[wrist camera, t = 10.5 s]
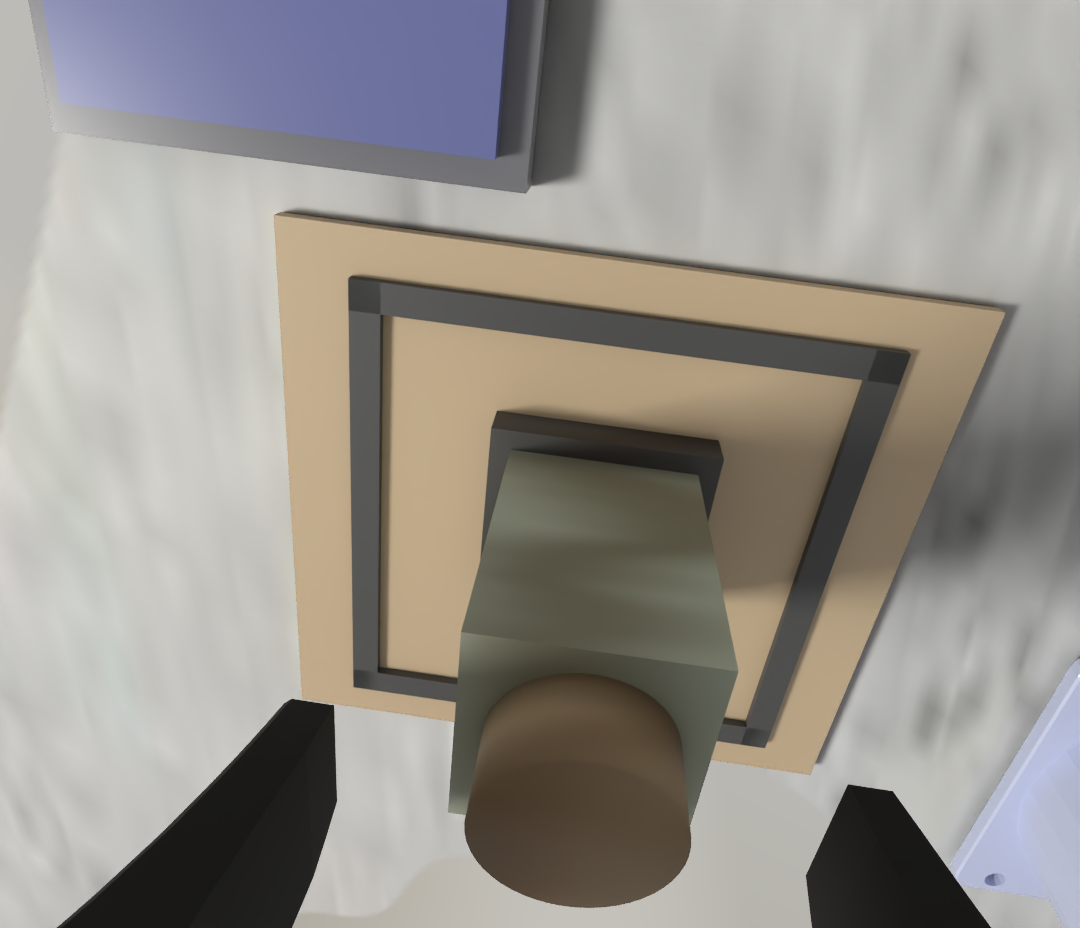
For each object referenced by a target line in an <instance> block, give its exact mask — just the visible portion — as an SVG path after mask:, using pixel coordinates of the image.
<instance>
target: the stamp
mask: <svg viewBox="0 0 1080 928" xmlns="http://www.w3.org/2000/svg"><path fill="white" fill-rule="evenodd" d="M723 462H724V457H723V454H722V450H721V446H720V443H719V440H712V439H705V438H697V437H690V436H682V435H675V434H667V433H660V432H652V431H645V430H637V429H630V428H622V427H615V426H608V425H600V424H593V423H585V422H578V421H570V420H563V419H555V418H548V417H540V416H533V415H525V414H518V413H510V412H503V411H497V412H496V415H495V418H494V421H493V424H492V427H491V435H490V447H489V459H488V472H487V484H486V496H485V508H484V520H483V532H482V544H481V557H480V564H479V567H478V571H477V575H476V578H475V582H474V586H473V589H472V593H471V597H470V601H469V604H468V608H467V612H466V615H465V619H464V623H463V626H462V630H461V639H460V653H459V667H458V681H457V695H456V709H455V723H454V737H453V751H452V765H451V779H450V793H449V807H448V812H449V813H456V814H463V815H466V817H465V836H466V841H467V844H468V846H469V849H470V851H471V853H472V854H473V856H474V857H475V859H476V860H477V862H478V863H479V864H480V865H481V866H482V868H483V869H485V870H486V871H487V872H488V873H489V874H490V875H491V876H492V877H493V878H495V879H496V880H498V881H499V882H500V883H502V884H504V885H505V886H507V887H509V888H510V889H512V890H514V891H517V892H519V893H521V894H523V895H525V896H528V897H531V898H534V899H536V900H540V901H544V902H547V903H551V904H556V905H562V906H570V907H585V908H594V907H608V906H616V905H621V904H625V903H630V902H633V901H636V900H639V899H642V898H645V897H647V896H649V895H651V894H653V893H655V892H657V891H659V890H660V889H662V888H664V887H665V886H666V885H667V884H669V883H670V882H671V881H672V880H673V879H674V878H675V877H676V876H677V875H678V874H679V873H680V871H681V870H682V868H683V867H684V866H685V864H686V861H687V859H688V857H689V853H690V848H691V833H690V824H691V821H692V818H693V815H694V811H695V808H696V805H697V802H698V799H699V796H700V792H701V789H702V786H703V783H704V780H705V776H706V773H707V770H708V767H709V764H710V761H711V757H712V754H713V751H714V748H715V745H716V742H717V738H718V735H719V732H720V729H721V726H722V723H723V719H724V716H725V713H726V710H727V707H728V704H729V700H730V697H731V694H732V691H733V688H734V685H735V681H736V678H737V675H738V672H739V671H738V666H737V661H736V656H735V651H734V647H733V642H732V637H731V632H730V627H729V622H728V617H727V612H726V608H725V603H724V598H723V593H722V588H721V583H720V578H719V573H718V568H717V564H716V559H715V554H714V549H713V544H712V539H711V534H710V529H709V525H708V520H709V517H710V513H711V509H712V505H713V501H714V497H715V493H716V489H717V485H718V481H719V477H720V474H721V470H722V466H723Z"/></svg>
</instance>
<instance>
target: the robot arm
mask: <svg viewBox="0 0 1080 928" xmlns="http://www.w3.org/2000/svg"><path fill="white" fill-rule="evenodd" d="M336 803H337V791H336V758H335V724H334V705H328V704H321V703H315V702H308V701H301V700H295V699H291V700H289V701H288V702H286V703H284V704H283V706H282V707H281V708H280V709H279V710H278V711H277V712H276V714H275V715H274V716H273V717H272V718H271V719H270V720H269V721H268V723H267V724H266V725H265V726H264V727H263V728H262V729H261V730H260V732H259V733H258V734H257V735H256V736H255V737H254V738H253V739H252V740H251V742H250V743H249V744H248V745H247V746H246V747H245V748H244V749H243V750H242V751H241V752H240V753H239V755H238V756H237V757H236V758H235V759H234V760H233V761H232V762H231V763H230V764H229V765H228V766H227V767H226V768H225V769H224V770H223V771H222V773H221V774H220V775H219V776H218V777H217V778H216V779H215V780H214V781H213V782H212V783H211V784H210V785H209V786H208V787H207V788H206V789H205V790H204V791H203V792H202V793H201V794H200V795H199V796H198V797H197V798H196V799H195V800H194V801H193V802H192V803H191V804H190V805H189V806H188V807H187V808H186V809H185V810H184V811H183V812H182V813H181V814H180V815H179V816H178V817H177V818H176V819H175V820H174V821H173V822H172V823H171V824H170V825H169V826H168V827H167V828H166V829H165V830H164V831H163V832H162V833H161V834H160V835H159V836H158V837H157V838H156V839H155V840H154V841H153V842H152V843H151V844H149V845H148V846H147V847H146V848H145V849H144V850H143V851H142V852H141V853H140V854H139V855H138V856H136V857H135V858H134V859H133V860H132V861H131V862H130V863H129V864H128V865H127V866H126V867H125V868H123V869H122V870H121V871H120V872H119V873H118V874H117V875H116V876H115V877H114V878H113V879H112V880H110V881H109V882H108V883H107V884H106V885H105V886H104V887H103V888H102V889H101V890H100V891H99V892H97V893H96V894H95V895H94V896H93V897H92V898H91V899H90V900H88V901H87V902H86V903H85V904H84V905H83V906H82V907H80V908H79V909H78V910H77V911H76V912H75V913H73V914H72V915H71V916H70V917H69V918H68V919H67V920H65V921H64V922H63V923H62V924H61V925H60V926H58V927H57V928H292V926H293V924H294V921H295V919H296V917H297V914H298V912H299V910H300V907H301V905H302V903H303V900H304V898H305V895H306V893H307V891H308V888H309V886H310V883H311V881H312V879H313V876H314V873H315V870H316V867H317V864H318V861H319V857H320V854H321V851H322V848H323V845H324V842H325V839H326V835H327V832H328V829H329V826H330V822H331V819H332V816H333V812H334V809H335V806H336ZM950 866H951V869H952V871H953V873H954V876H955V878H956V879H955V878H954V876H953V875H952V873H951V872H950V871H949V869H948V868H947V866H946V865H945V864H944V862H943V861H942V859H941V858H940V857H939V855H938V854H937V852H936V851H935V850H934V848H933V847H932V845H931V844H930V843H929V841H928V840H927V838H926V837H925V836H924V834H923V833H922V831H921V830H920V829H919V827H918V826H917V824H916V823H915V822H914V820H913V819H912V817H911V816H910V815H909V813H908V812H907V811H906V809H905V808H904V806H903V805H902V804H901V802H900V801H899V799H898V798H897V797H896V795H895V794H894V793H893V791H887V790H881V789H874V788H867V787H861V786H854V785H848V786H847V788H846V790H845V792H844V794H843V797H842V799H841V801H840V803H839V805H838V807H837V810H836V812H835V814H834V816H833V818H832V820H831V823H830V825H829V827H828V829H827V831H826V833H825V835H824V838H823V840H822V842H821V844H820V846H819V848H818V851H817V853H816V855H815V858H814V859H813V861H812V864H811V866H810V868H809V870H808V872H807V874H806V879H807V887H808V896H809V904H810V914H811V922H812V928H991V927H990V926H989V924H988V923H987V921H986V920H985V919H984V917H983V916H982V915H981V913H980V912H979V911H978V909H977V908H976V907H975V905H974V904H973V902H972V901H971V900H970V898H969V897H968V896H967V894H966V893H965V891H964V890H963V889H962V887H961V886H960V884H961V885H964V886H967V887H972V888H979V889H985V890H992V891H999V892H1005V893H1012V894H1018V895H1025V896H1031V897H1038V898H1045V899H1048V900H1049V901H1050V903H1051V905H1052V907H1053V909H1054V911H1055V913H1056V915H1057V917H1058V919H1059V921H1060V923H1061V924H1062V926H1063V928H1080V658H1079V659H1077V660H1076V661H1075V662H1074V663H1073V664H1072V665H1071V666H1070V668H1069V670H1068V671H1067V673H1066V674H1065V676H1064V678H1063V679H1062V681H1061V683H1060V684H1059V686H1058V688H1057V689H1056V691H1055V693H1054V694H1053V696H1052V697H1051V699H1050V701H1049V702H1048V704H1047V706H1046V707H1045V709H1044V711H1043V712H1042V714H1041V715H1040V717H1039V719H1038V720H1037V722H1036V724H1035V725H1034V727H1033V729H1032V730H1031V732H1030V734H1029V735H1028V737H1027V738H1026V740H1025V742H1024V743H1023V745H1022V747H1021V748H1020V750H1019V752H1018V753H1017V755H1016V757H1015V758H1014V760H1013V761H1012V763H1011V765H1010V766H1009V768H1008V770H1007V771H1006V773H1005V775H1004V776H1003V778H1002V779H1001V781H1000V783H999V784H998V786H997V788H996V789H995V791H994V793H993V794H992V796H991V798H990V799H989V801H988V802H987V804H986V806H985V807H984V809H983V811H982V812H981V814H980V816H979V817H978V819H977V821H976V822H975V824H974V825H973V827H972V829H971V830H970V832H969V834H968V835H967V837H966V839H965V840H964V842H963V844H962V845H961V847H960V848H959V850H958V852H957V853H956V855H955V857H954V858H953V860H952V862H951V865H950ZM958 882H959V883H960V884H959V883H958Z"/></svg>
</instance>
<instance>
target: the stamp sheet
mask: <svg viewBox="0 0 1080 928" xmlns="http://www.w3.org/2000/svg"><path fill="white" fill-rule="evenodd" d="M274 228H275V245H276V262H277V279H278V295H279V312H280V329H281V346H282V363H283V380H284V397H285V414H286V431H287V448H288V465H289V482H290V499H291V516H292V533H293V550H294V567H295V584H296V601H297V618H298V635H299V652H300V669H301V686H302V699H305V700H312V701H319V702H325V703H332V704H339V705H345V706H352V707H359V708H365V709H372V710H379V711H386V712H392V713H399V714H406V715H412V716H419V717H426V718H432V719H439V720H446V721H453V722H455V709H456V695H457V681H458V667H459V653H460V639H461V630H462V626H463V623H464V619H465V615H466V612H467V608H468V604H469V601H470V597H471V593H472V589H473V586H474V582H475V578H476V575H477V571H478V567H479V564H480V557H481V544H482V532H483V520H484V508H485V496H486V484H487V472H488V459H489V447H490V435H491V427H492V424H493V421H494V418H495V415H496V412H497V411H503V412H510V413H518V414H525V415H533V416H540V417H548V418H555V419H563V420H570V421H578V422H585V423H593V424H600V425H608V426H615V427H622V428H630V429H637V430H645V431H652V432H660V433H667V434H675V435H682V436H690V437H697V438H705V439H712V440H719V443H720V446H721V450H722V454H723V457H724V462H723V466H722V470H721V474H720V477H719V481H718V485H717V489H716V493H715V497H714V501H713V505H712V509H711V513H710V517H709V520H708V525H709V529H710V534H711V539H712V544H713V549H714V554H715V559H716V564H717V568H718V573H719V578H720V583H721V588H722V593H723V598H724V603H725V608H726V612H727V617H728V622H729V627H730V632H731V637H732V642H733V647H734V651H735V656H736V661H737V666H738V671H739V672H738V675H737V678H736V681H735V685H734V688H733V691H732V694H731V697H730V700H729V704H728V707H727V710H726V713H725V716H724V719H723V723H722V726H721V729H720V732H719V735H718V738H717V742H716V745H715V748H714V751H713V754H712V757H711V760H714V761H721V762H727V763H734V764H741V765H748V766H754V767H761V768H768V769H774V770H781V771H788V772H794V773H801V774H808V775H810V774H811V772H812V769H813V767H814V764H815V762H816V760H817V757H818V755H819V753H820V750H821V748H822V746H823V743H824V741H825V738H826V736H827V734H828V731H829V729H830V727H831V724H832V722H833V720H834V717H835V715H836V713H837V710H838V708H839V705H840V703H841V701H842V698H843V696H844V694H845V691H846V689H847V687H848V684H849V682H850V679H851V677H852V675H853V672H854V670H855V668H856V665H857V663H858V661H859V658H860V656H861V653H862V651H863V649H864V646H865V644H866V642H867V639H868V637H869V635H870V632H871V630H872V627H873V625H874V623H875V620H876V618H877V616H878V613H879V611H880V609H881V606H882V604H883V601H884V599H885V597H886V594H887V592H888V590H889V587H890V585H891V583H892V580H893V578H894V575H895V573H896V571H897V568H898V566H899V564H900V561H901V559H902V557H903V554H904V552H905V549H906V547H907V545H908V542H909V540H910V538H911V535H912V533H913V531H914V528H915V526H916V523H917V521H918V519H919V516H920V514H921V512H922V509H923V507H924V505H925V502H926V500H927V498H928V495H929V493H930V490H931V488H932V486H933V483H934V481H935V479H936V476H937V474H938V472H939V469H940V467H941V464H942V462H943V460H944V457H945V455H946V453H947V450H948V448H949V446H950V443H951V441H952V438H953V436H954V434H955V431H956V429H957V427H958V424H959V422H960V420H961V417H962V415H963V412H964V410H965V408H966V405H967V403H968V401H969V398H970V396H971V394H972V391H973V389H974V386H975V384H976V382H977V379H978V377H979V375H980V372H981V370H982V368H983V365H984V363H985V360H986V358H987V356H988V353H989V351H990V349H991V346H992V344H993V342H994V339H995V337H996V334H997V332H998V330H999V327H1000V325H1001V323H1002V320H1003V318H1004V316H1005V313H1006V312H1004V311H1002V310H1001V309H999V308H997V307H989V306H982V305H974V304H967V303H959V302H952V301H944V300H937V299H929V298H922V297H914V296H907V295H899V294H891V293H884V292H876V291H869V290H861V289H854V288H846V287H839V286H831V285H824V284H816V283H809V282H801V281H794V280H786V279H779V278H771V277H764V276H756V275H749V274H741V273H734V272H726V271H719V270H711V269H704V268H696V267H689V266H681V265H674V264H666V263H659V262H651V261H644V260H636V259H629V258H621V257H614V256H606V255H598V254H591V253H583V252H576V251H568V250H561V249H553V248H546V247H538V246H531V245H523V244H516V243H508V242H501V241H493V240H486V239H478V238H471V237H463V236H456V235H448V234H441V233H433V232H426V231H418V230H411V229H403V228H396V227H388V226H381V225H373V224H366V223H358V222H351V221H343V220H336V219H328V218H321V217H313V216H305V215H298V214H290V213H283V212H280V213H277V214H275V215H274Z"/></svg>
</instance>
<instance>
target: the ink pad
mask: <svg viewBox="0 0 1080 928" xmlns="http://www.w3.org/2000/svg"><path fill="white" fill-rule="evenodd" d="M29 6H30V11H31V17H32V22H33V27H34V33H35V38H36V44H37V49H38V54H39V59H40V65H41V70H42V76H43V81H44V86H45V92H46V97H47V102H48V108H49V113H50V118H51V124H52V129H53V131H54V132H61V133H69V134H76V135H84V136H92V137H99V138H107V139H114V140H122V141H130V142H137V143H145V144H153V145H160V146H168V147H175V148H183V149H191V150H198V151H206V152H213V153H221V154H229V155H236V156H244V157H251V158H259V159H267V160H274V161H282V162H289V163H297V164H305V165H312V166H320V167H328V168H335V169H343V170H350V171H358V172H366V173H373V174H381V175H388V176H396V177H404V178H411V179H419V180H426V181H434V182H442V183H449V184H457V185H465V186H472V187H480V188H487V189H495V190H503V191H510V192H518V193H525V194H526V193H527V191H528V190H529V188H530V187H531V179H532V169H533V159H534V149H535V139H536V129H537V119H538V109H539V99H540V89H541V79H542V69H543V59H544V49H545V38H546V28H547V18H548V8H549V0H29Z"/></svg>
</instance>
